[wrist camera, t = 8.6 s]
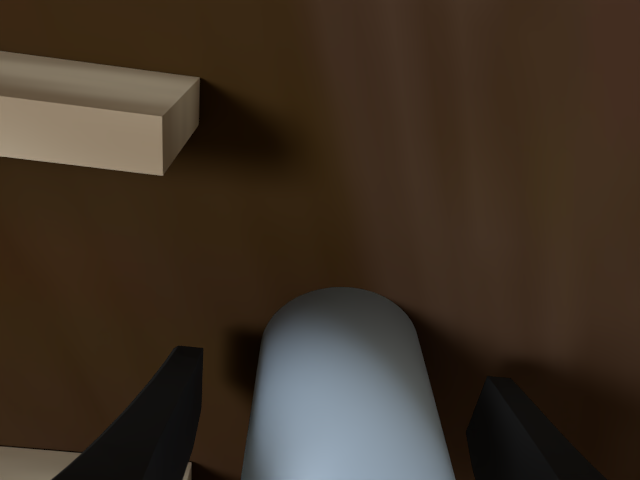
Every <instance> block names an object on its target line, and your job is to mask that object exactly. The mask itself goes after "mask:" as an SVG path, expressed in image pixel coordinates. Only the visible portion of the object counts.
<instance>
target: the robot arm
mask: <svg viewBox="0 0 640 480" xmlns="http://www.w3.org/2000/svg"><path fill="white" fill-rule="evenodd" d="M202 371H203V348H196V347H186V346H177V347H176V348H174V349H173V351H172V352H171V354H170V355H169V356H168V358H167V359H166V361H165V362H164V363H163V365H162V366H161V367H160V369H159V370H158V371H157V373H156V374H155V375H154V376H153V378H152V379H151V380H150V381H149V383H148V384H147V385H146V386H145V387H144V389H143V390H142V391H141V392H140V393H139V394H138V395H137V397H136V398H135V399H134V400H133V401H132V402H131V404H130V405H129V406H128V407H127V408H126V409H125V410H124V411H123V412H122V414H121V415H120V416H119V417H118V418H117V419H116V420H115V421H114V422H113V423H112V424H111V425H110V426H109V427H108V428H107V429H106V430H105V431H104V432H103V433H102V434H101V435H100V436H99V437H98V438H97V439H96V440H95V441H94V442H93V443H92V444H91V445H90V446H89V447H88V448H87V449H86V450H85V451H84V452H82V453H81V454H80V455H79V456H78V457H77V458H76V459H75V460H74V461H72V462H71V463H70V464H69V465H68V466H67V467H66V468H64V469H63V470H62V471H61V472H60V473H58V474H57V475H56V476H55V477H54V478H52V479H51V480H183V477H184V474H185V471H186V468H187V465H188V462H189V459H190V456H191V452H192V449H193V445H194V441H195V436H196V431H197V427H198V422H199V417H200V412H201V402H202ZM466 435H467V441H468V447H469V453H470V458H471V463H472V468H473V473H474V476H475V479H476V480H607V479H606V478H605V477H604V476H603V475H602V474H601V473H600V472H599V471H598V470H597V469H595V468H594V467H593V466H592V465H591V464H590V463H589V462H588V461H587V460H586V459H585V458H584V457H583V456H582V455H581V454H580V453H579V452H578V451H577V450H576V448H575V447H574V446H573V445H572V444H571V443H570V442H569V441H568V440H567V439H566V438H565V437H564V436H563V435H562V434H561V433H560V432H559V431H558V429H557V428H556V427H555V426H554V425H553V424H552V423H551V422H550V421H549V420H548V419H547V417H546V416H545V415H544V414H543V413H542V412H541V411H540V410H539V409H538V407H537V406H536V405H535V404H534V403H533V402H532V401H531V400H530V399H529V398H528V396H527V395H526V394H525V393H524V392H523V391H522V390H521V389H520V388H519V387H518V386H517V384H516V383H515V382H514V381H513V380H512V379H511V378H502V377H492V376H487V378H486V381H485V383H484V386H483V389H482V391H481V394H480V397H479V399H478V402H477V404H476V407H475V410H474V412H473V415H472V417H471V420H470V423H469V425H468V428H467V431H466Z"/></svg>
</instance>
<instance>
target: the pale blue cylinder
mask: <svg viewBox="0 0 640 480" xmlns="http://www.w3.org/2000/svg"><path fill="white" fill-rule="evenodd" d="M241 480H456V479H455V475H454V472H453V468H452V464H451V460H450V457H449V453H448V449H447V445H446V442H445V438H444V434H443V430H442V426H441V423H440V419H439V415H438V411H437V408H436V404H435V400H434V396H433V393H432V389H431V385H430V381H429V377H428V374H427V370H426V366H425V362H424V359H423V355H422V351H421V347H420V343H419V340H418V336H417V333H416V330H415V327H414V325H413V323H412V321H411V320H410V319H409V317H408V316H407V314H406V313H405V312H404V311H403V310H402V309H401V308H400V307H399V306H397V305H396V304H395V303H393V302H392V301H390V300H389V299H387V298H385V297H383V296H381V295H379V294H376V293H374V292H371V291H367V290H364V289H358V288H351V287H332V288H325V289H319V290H315V291H312V292H308V293H306V294H304V295H301V296H299V297H297V298H295V299H293V300H292V301H290V302H288V303H287V304H286V305H284V306H283V307H282V308H281V309H280V310H279V311H278V312H276V313H275V315H274V316H273V317H272V318H271V320H270V321H269V323H268V324H267V326H266V328H265V330H264V333H263V336H262V340H261V345H260V352H259V359H258V366H257V373H256V379H255V386H254V393H253V400H252V407H251V414H250V420H249V427H248V434H247V441H246V448H245V455H244V462H243V468H242V475H241Z"/></svg>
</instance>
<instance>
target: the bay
mask: <svg viewBox="0 0 640 480" xmlns="http://www.w3.org/2000/svg"><path fill="white" fill-rule="evenodd" d="M199 93H200V78H199V77H191V76H184V75H176V74H169V73H161V72H154V71H146V70H139V69H131V68H124V67H116V66H109V65H101V64H94V63H86V62H79V61H71V60H64V59H56V58H49V57H41V56H34V55H26V54H19V53H11V52H4V51H0V156H3V157H11V158H20V159H28V160H36V161H45V162H53V163H61V164H70V165H78V166H86V167H95V168H103V169H111V170H120V171H128V172H136V173H145V174H153V175H161V176H163V175H164V173H165V172H166V170H167V169H168V168H169V166H170V165H171V163H172V162H173V161H174V159H175V158H176V156H177V155H178V153H179V152H180V151H181V149H182V148H183V146H184V145H185V143H186V142H187V141H188V139H189V138H190V136H191V135H192V134H193V132H194V131H195V129H196V128H197V126H198V125H199ZM80 454H81V453H74V452H62V451H50V450H38V449H26V448H14V447H2V446H0V480H51V479H52V478H54V477H55V476H56V475H57V474H58V473H60V472H61V471H62V470H63V469H64V468H66V467H67V466H68V465H69V464H70V463H71V462H72V461H74V460H75V459H76V458H77V457H78V456H79V455H80ZM191 469H192V462H188V465H187V468H186V471H185V474H184V477H183V480H191Z"/></svg>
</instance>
